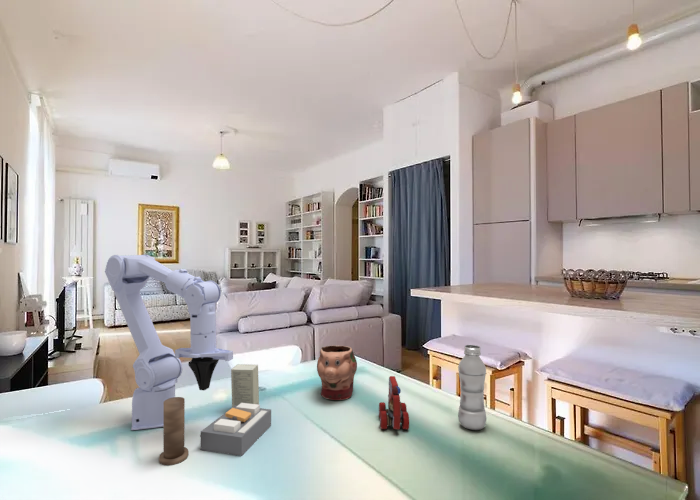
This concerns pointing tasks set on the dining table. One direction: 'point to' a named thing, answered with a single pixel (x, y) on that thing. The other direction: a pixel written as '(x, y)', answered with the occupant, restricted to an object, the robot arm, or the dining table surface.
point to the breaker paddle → (238, 415)
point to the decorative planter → (336, 371)
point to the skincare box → (245, 384)
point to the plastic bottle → (472, 389)
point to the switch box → (236, 431)
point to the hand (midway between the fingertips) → (204, 388)
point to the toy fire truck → (393, 408)
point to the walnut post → (173, 432)
